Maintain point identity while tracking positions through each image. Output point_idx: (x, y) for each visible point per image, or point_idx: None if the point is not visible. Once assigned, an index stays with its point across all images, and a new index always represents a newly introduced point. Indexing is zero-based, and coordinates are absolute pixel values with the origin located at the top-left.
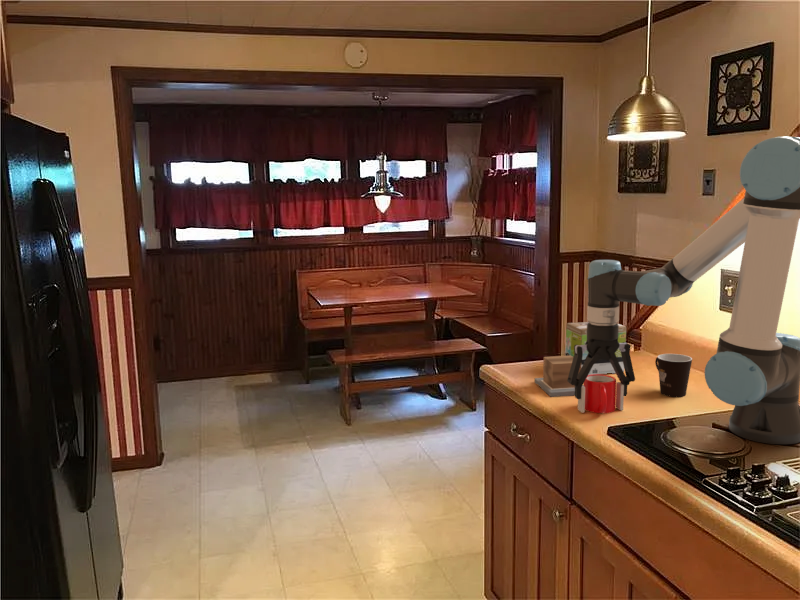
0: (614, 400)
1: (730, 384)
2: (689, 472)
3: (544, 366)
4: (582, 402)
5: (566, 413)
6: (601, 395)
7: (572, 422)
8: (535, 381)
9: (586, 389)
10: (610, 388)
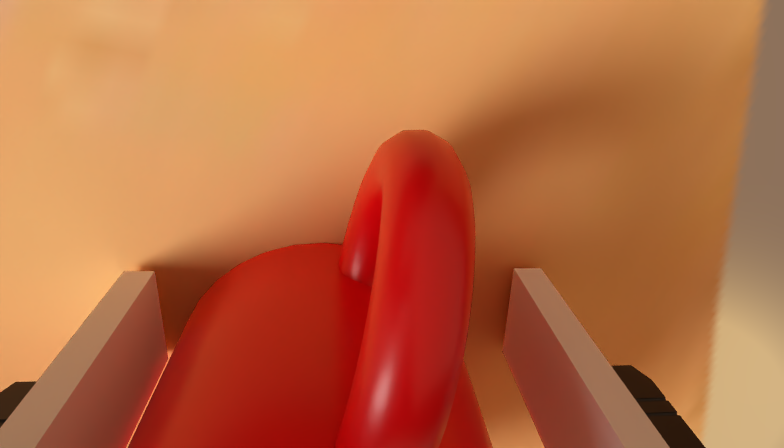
0: (187, 343)
1: None
2: None
3: None
4: (574, 323)
5: (656, 288)
6: (473, 221)
7: (752, 56)
8: None
9: None
10: (226, 426)
